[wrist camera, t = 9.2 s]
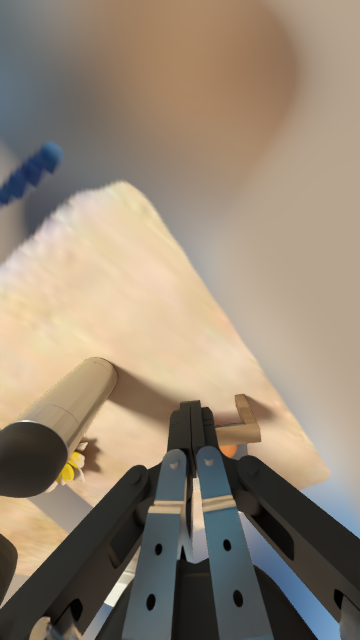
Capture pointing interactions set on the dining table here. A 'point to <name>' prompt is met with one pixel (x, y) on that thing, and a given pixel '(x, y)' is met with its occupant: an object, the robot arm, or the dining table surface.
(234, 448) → the ball
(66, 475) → the decorative flower
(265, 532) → the robot arm
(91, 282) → the dining table surface
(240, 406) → the bridge
